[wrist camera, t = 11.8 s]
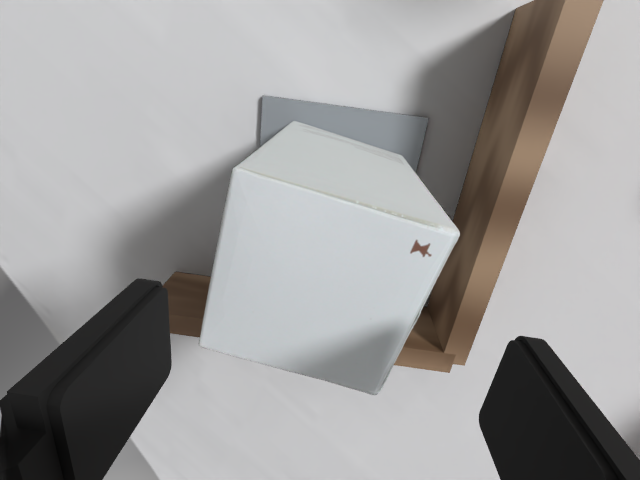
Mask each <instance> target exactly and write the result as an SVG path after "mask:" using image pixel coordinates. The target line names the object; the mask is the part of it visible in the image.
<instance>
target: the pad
mask: <svg viewBox="0 0 640 480" xmlns="http://www.w3.org/2000/svg"><path fill="white" fill-rule="evenodd" d="M428 120H429V118H426V117H418V116H411V115H404V114H396V113H389V112H382V111H374V110H367V109H360V108H352V107H345V106H338V105H330V104H323V103H316V102H308V101H301V100H294V99H286V98H279V97H272V96H265V95H263V98H262V117H261V135H260V147H261V146H262V145H264V144H265V143H266V142H267V141H269V140H270V139H271V138H272V137H274V136H275V135H276V134H277V133H279V132H280V131H281V130H282V129H283V128H285V127H286V126H287V125H289V124H290V123H291V122H293V121H297V122H300V123H303V124H307V125H310V126H313V127H316V128H319V129H322V130H325V131H328V132H331V133H334V134H338V135H341V136H344V137H347V138H350V139H353V140H356V141H359V142H362V143H365V144H368V145H371V146H374V147H377V148H380V149H384V150H387V151H390V152H393V153H396V154H399V155H402V156H403V157H404V159H405V160H406V161H407V163H408V164H409V165H410V167H411V168H412V169H413V171H414V172H415V173H416V170H417V166H418V162H419V157H420V153H421V149H422V145H423V141H424V136H425V132H426V128H427V124H428Z"/></svg>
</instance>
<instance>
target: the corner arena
mask: <svg viewBox="0 0 640 480" xmlns="http://www.w3.org/2000/svg"><path fill="white" fill-rule="evenodd" d="M602 3H603V0H534V1H532V2H530V3H527V4H525V5H523V6H520V7H518V8H516V10H515V14H514V17H513V20H512V24H511V27H510V30H509V34H508V37H507V40H506V44H505V47H504V51H503V54H502V57H501V61H500V64H499V67H498V71H497V74H496V77H495V81H494V84H493V87H492V91H491V94H490V98H489V101H488V104H487V108H486V111H485V114H484V118H483V121H482V124H481V128H480V131H479V134H478V138H477V141H476V145H475V148H474V151H473V155H472V158H471V161H470V165H469V168H468V171H467V175H466V178H465V181H464V185H463V188H462V192H461V195H460V198H459V202H458V205H457V208H456V212H455V215H454V218H453V223H454V224H455V226H456V227H457V228H458V230H459V232H460V236H459V238H458V240H457V242H456V244H455V246H454V247H453V249H452V251H451V253H450V255H449V257H448V259H447V261H446V263H445V265H444V267H443V269H442V271H441V272H440V274H439V276H438V278H437V280H436V282H435V284H434V286H433V289H432V292H431V296H430V299H429V302H428V306H427V307H423V308H422V310H421V313H420V316H419V317H418V319H417V321H416V323H415V325H414V326H413V328H412V330H411V332H410V334H409V336H408V338H407V339H406V341H405V344H404V346H403V348H402V350H401V352H400V353H399V355H398V357H397V359H396V361H395V363H394V365H398V366H405V367H412V368H419V369H426V370H434V371H441V372H448V373H450V370H451V367H452V364H457V365H465V363H466V360H467V357H468V355H469V352H470V350H471V347H472V344H473V342H474V339H475V336H476V334H477V331H478V329H479V326H480V323H481V321H482V318H483V315H484V313H485V310H486V308H487V305H488V302H489V300H490V297H491V294H492V292H493V289H494V287H495V284H496V281H497V279H498V276H499V273H500V271H501V268H502V266H503V263H504V260H505V258H506V255H507V252H508V250H509V247H510V245H511V242H512V239H513V237H514V234H515V231H516V229H517V226H518V224H519V221H520V218H521V216H522V213H523V210H524V208H525V205H526V203H527V200H528V197H529V195H530V192H531V189H532V187H533V184H534V182H535V179H536V176H537V174H538V171H539V168H540V166H541V163H542V161H543V158H544V155H545V153H546V150H547V147H548V145H549V142H550V140H551V137H552V134H553V132H554V129H555V126H556V124H557V121H558V119H559V116H560V113H561V111H562V108H563V105H564V103H565V100H566V98H567V95H568V92H569V90H570V87H571V84H572V82H573V79H574V77H575V74H576V71H577V69H578V66H579V63H580V61H581V58H582V56H583V53H584V50H585V48H586V45H587V42H588V40H589V37H590V35H591V32H592V29H593V27H594V24H595V21H596V19H597V16H598V14H599V11H600V8H601V6H602ZM210 279H211V277H209V276H202V275H195V274H188V273H181V272H175V273H174V274H173V275H172V276H171V277H170V278H169V279H168V280H167V282H166V283H165V284H164V285H163V286H162V287H163V288H166V289H167V291H168V305H169V325H170V333H172V334H179V335H186V336H193V337H200V335H201V329H202V323H203V317H204V311H205V306H206V300H207V295H208V290H209V284H210Z"/></svg>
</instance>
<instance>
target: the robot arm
mask: <svg viewBox="0 0 640 480" xmlns="http://www.w3.org/2000/svg"><path fill="white" fill-rule="evenodd" d="M170 370H171V345H170V325H169V305H168V291H167V289H166V288H163V287H162V284H161V282H159V281H153V280H146V279H136V280H135V281H134V282H132V283H131V284H130V285H129V286H128V287H127V288H125V289H124V290H123V291H122V292H121V293H120V294H119V295H117V296H116V297H115V298H114V299H113V300H112V301H111V302H109V303H108V304H107V305H106V306H105V307H104V308H103V309H101V310H100V311H99V312H98V313H97V314H96V315H94V316H93V317H92V318H91V319H90V320H89V321H88V322H86V323H85V324H84V325H83V326H82V327H81V328H80V329H78V330H77V331H76V332H75V333H74V334H73V335H72V336H70V337H69V338H68V339H67V340H66V341H65V342H63V343H62V344H61V345H60V346H59V347H58V348H57V349H56V350H54V351H53V352H52V353H51V354H50V355H49V356H47V357H46V358H45V359H44V360H43V361H42V362H41V363H39V364H38V365H37V366H36V367H35V368H34V369H33V370H31V371H30V372H29V373H28V374H27V375H26V376H25V377H23V378H22V379H21V380H20V381H19V382H18V383H16V384H15V385H14V386H13V387H12V388H11V389H10V390H8V391H7V395H6V396H5V397H4V398H2V399H1V400H0V480H102V479H103V478H104V476H105V475H106V473H107V471H108V470H109V468H110V467H111V465H112V464H113V462H114V460H115V459H116V457H117V456H118V454H119V453H120V451H121V450H122V448H123V447H124V445H125V443H126V442H127V440H128V439H129V437H130V436H131V434H132V432H133V431H134V429H135V428H136V426H137V425H138V423H139V422H140V420H141V418H142V417H143V415H144V414H145V412H146V411H147V409H148V407H149V406H150V404H151V403H152V401H153V400H154V398H155V397H156V395H157V393H158V392H159V390H160V389H161V387H162V386H163V384H164V382H165V381H166V379H167V378H168V376H169V373H170ZM479 424H480V428H481V430H482V433H483V436H484V438H485V441H486V443H487V446H488V448H489V451H490V454H491V456H492V459H493V461H494V464H495V466H496V469H497V471H498V474H499V477H500V479H501V480H640V460H639V459H638V458H637V456H636V455H635V454H634V452H633V451H632V450H631V449H630V447H629V446H628V445H627V444H626V442H625V441H624V440H623V439H622V437H621V436H620V435H619V433H618V432H617V431H616V430H615V428H614V427H613V426H612V425H611V423H610V422H609V421H608V420H607V418H606V417H605V416H604V414H603V413H602V412H601V411H600V409H599V408H598V407H597V406H596V404H595V403H594V402H593V401H592V399H591V398H590V397H589V395H588V394H587V393H586V392H585V390H584V389H583V388H582V387H581V385H580V384H579V383H578V382H577V380H576V379H575V378H574V377H573V375H572V374H571V373H570V371H569V370H568V369H567V368H566V366H565V365H564V364H563V363H562V361H561V360H560V359H559V358H558V356H557V355H556V354H555V352H554V351H553V350H552V349H551V347H550V346H549V345H548V344H547V342H546V341H544V340H542V339H538V338H531V337H525V336H518V337H517V338H516V339H515V340H512V341H510V342H509V343H508V345H507V347H506V350H505V352H504V355H503V357H502V360H501V362H500V364H499V367H498V369H497V372H496V374H495V376H494V379H493V381H492V384H491V386H490V389H489V391H488V393H487V396H486V398H485V401H484V403H483V405H482V408H481V410H480V413H479Z"/></svg>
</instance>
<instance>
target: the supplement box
mask: <svg viewBox="0 0 640 480" xmlns="http://www.w3.org/2000/svg"><path fill="white" fill-rule="evenodd" d="M459 236H460V232H459V230H458V228H457V227H456V226H455V224H454V223H453V222H452V221H451V219H450V218H449V217H448V215H447V214H446V213H445V211H444V210H443V209H442V207H441V206H440V205H439V203H438V202H437V201H436V200H435V198H434V197H433V196H432V194H431V193H430V192H429V190H428V189H427V188H426V186H425V185H424V184H423V182H422V181H421V180H420V178H419V177H418V176H417V174H416V173H415V172H414V171H413V169H412V168H411V167H410V165H409V164H408V163H407V161H406V160H405V159H404V157H403V156H402V155H399V154H396V153H393V152H390V151H387V150H384V149H380V148H377V147H374V146H371V145H368V144H365V143H362V142H359V141H356V140H353V139H350V138H347V137H344V136H341V135H338V134H334V133H331V132H328V131H325V130H322V129H319V128H316V127H313V126H310V125H307V124H303V123H300V122H297V121H293V122H291V123H290V124H289V125H287V126H286V127H285V128H283V129H282V130H281V131H280V132H279V133H277V134H276V135H275V136H274V137H272V138H271V139H270V140H269V141H267V142H266V143H265V144H264V145H262V146H261V147H260V148H259V149H258V150H256V151H255V152H254V153H252V154H251V155H250V156H249V157H247V158H246V159H245V160H244V161H242V162H241V163H240V164H238V165H237V166H235V167H234V168H233V170H232V174H231V178H230V183H229V187H228V192H227V196H226V201H225V206H224V211H223V216H222V222H221V227H220V232H219V237H218V242H217V248H216V253H215V258H214V263H213V269H212V274H211V279H210V284H209V290H208V295H207V300H206V306H205V311H204V317H203V323H202V329H201V335H200V340H199V346H200V347H203V348H206V349H210V350H213V351H217V352H220V353H224V354H227V355H231V356H235V357H238V358H242V359H246V360H250V361H253V362H257V363H261V364H264V365H268V366H271V367H275V368H279V369H282V370H286V371H290V372H294V373H298V374H302V375H305V376H309V377H313V378H317V379H321V380H325V381H328V382H331V383H334V384H338V385H341V386H345V387H348V388H351V389H355V390H358V391H362V392H365V393H368V394H372V395H376V394H378V393H379V392H380V391H381V389H382V387H383V385H384V383H385V381H386V380H387V378H388V376H389V373H390V371H391V369H392V367H393V365H394V363H395V361H396V359H397V357H398V355H399V353H400V352H401V350H402V348H403V346H404V344H405V341H406V339H407V338H408V336H409V334H410V332H411V330H412V328H413V326H414V325H415V323H416V321H417V319H418V317H419V316H420V313H421V310H422V308H423V306H424V304H425V302H426V300H427V298H428V296H429V294H430V292H431V290H432V288H433V286H434V284H435V282H436V280H437V278H438V276H439V274H440V272H441V271H442V269H443V267H444V265H445V263H446V261H447V259H448V257H449V255H450V253H451V251H452V249H453V247H454V246H455V244H456V242H457V240H458V238H459Z"/></svg>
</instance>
